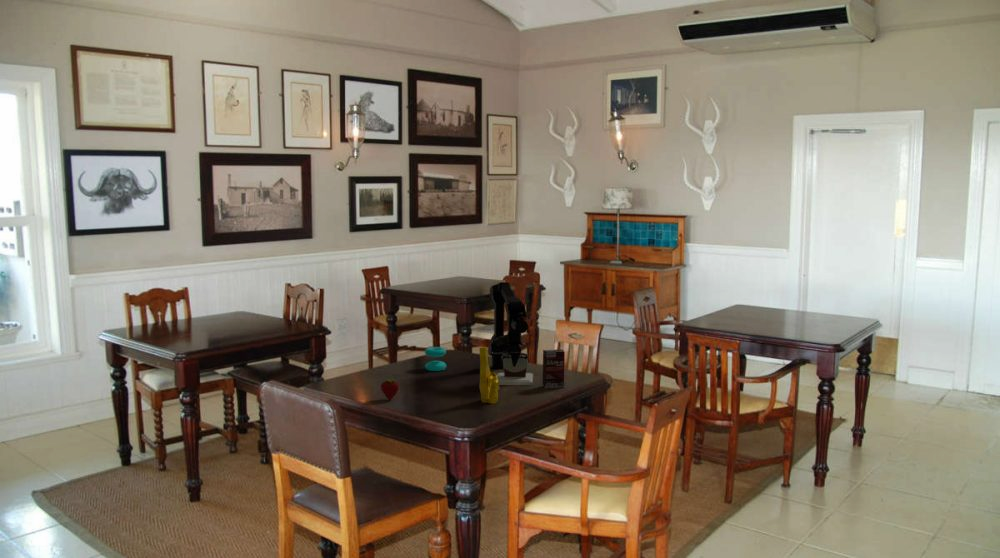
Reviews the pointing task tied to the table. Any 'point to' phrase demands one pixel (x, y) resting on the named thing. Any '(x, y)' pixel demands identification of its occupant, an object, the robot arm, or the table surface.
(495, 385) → the yellow tall lumpy piece
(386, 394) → the strawberry
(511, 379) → the white square tray
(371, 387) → the table surface
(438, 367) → the donuts
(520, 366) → the food container
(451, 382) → the table surface
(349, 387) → the table surface
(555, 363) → the supplement box
